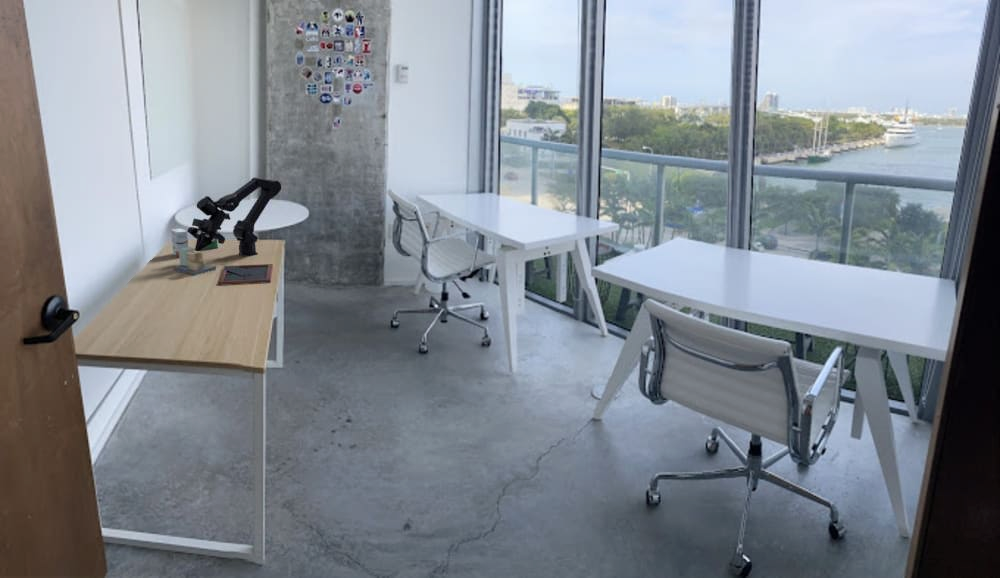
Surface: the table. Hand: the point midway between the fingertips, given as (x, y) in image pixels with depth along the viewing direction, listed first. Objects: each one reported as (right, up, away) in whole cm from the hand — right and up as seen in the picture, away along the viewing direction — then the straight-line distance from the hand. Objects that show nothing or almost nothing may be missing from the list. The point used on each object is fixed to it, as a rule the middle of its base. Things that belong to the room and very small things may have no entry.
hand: (195, 251), depth 319 cm
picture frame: (+25, -11, -10) cm, 29 cm away
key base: (+1, -8, -4) cm, 9 cm away
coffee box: (-7, +3, +33) cm, 33 cm away
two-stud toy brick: (-2, -6, -2) cm, 7 cm away
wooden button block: (+3, -8, -8) cm, 12 cm away
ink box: (-15, -1, +20) cm, 25 cm away
